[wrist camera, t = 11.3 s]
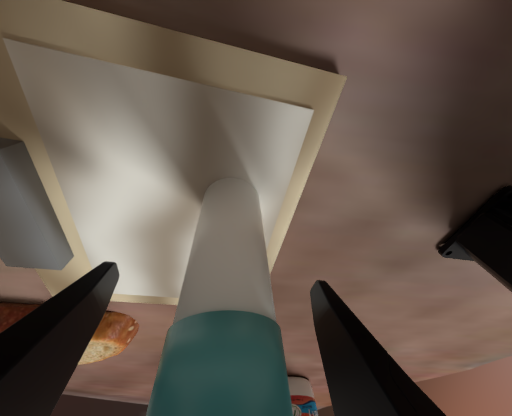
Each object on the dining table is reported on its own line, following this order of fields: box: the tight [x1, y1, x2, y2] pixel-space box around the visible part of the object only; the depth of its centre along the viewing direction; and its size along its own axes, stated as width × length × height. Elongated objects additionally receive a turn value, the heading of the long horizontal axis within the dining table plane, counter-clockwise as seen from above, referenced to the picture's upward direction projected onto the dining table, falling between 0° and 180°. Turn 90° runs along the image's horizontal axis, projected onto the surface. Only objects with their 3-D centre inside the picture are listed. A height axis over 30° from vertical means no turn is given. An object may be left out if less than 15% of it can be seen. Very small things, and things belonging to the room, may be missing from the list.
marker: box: [146, 178, 293, 416], centre depth 8 cm, size 3×3×9 cm
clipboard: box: [0, 0, 347, 305], centre depth 12 cm, size 17×19×2 cm
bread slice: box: [0, 303, 139, 365], centre depth 19 cm, size 18×18×4 cm
